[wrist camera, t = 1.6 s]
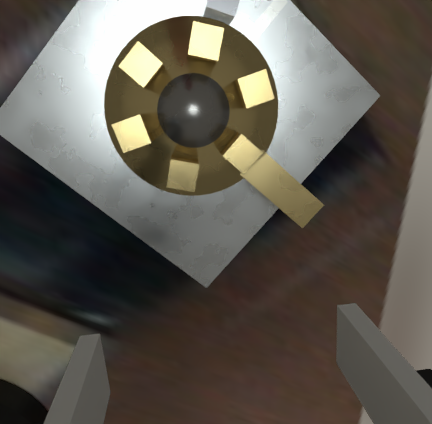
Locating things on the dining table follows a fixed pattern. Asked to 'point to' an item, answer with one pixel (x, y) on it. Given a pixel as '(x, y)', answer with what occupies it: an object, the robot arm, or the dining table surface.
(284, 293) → the dining table surface
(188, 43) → the gold knob with handle
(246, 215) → the flange plate
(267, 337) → the dining table surface
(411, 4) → the dining table surface
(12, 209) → the dining table surface
